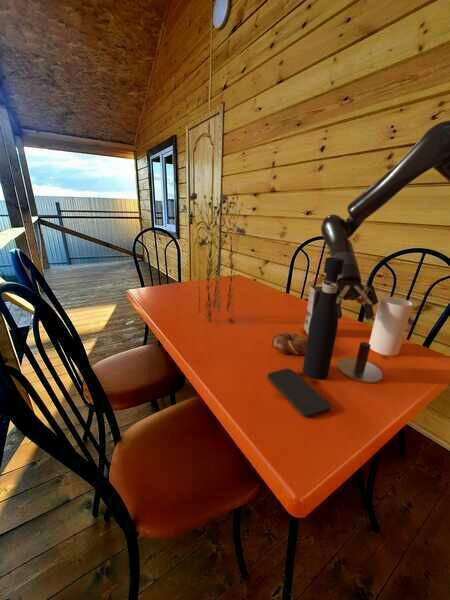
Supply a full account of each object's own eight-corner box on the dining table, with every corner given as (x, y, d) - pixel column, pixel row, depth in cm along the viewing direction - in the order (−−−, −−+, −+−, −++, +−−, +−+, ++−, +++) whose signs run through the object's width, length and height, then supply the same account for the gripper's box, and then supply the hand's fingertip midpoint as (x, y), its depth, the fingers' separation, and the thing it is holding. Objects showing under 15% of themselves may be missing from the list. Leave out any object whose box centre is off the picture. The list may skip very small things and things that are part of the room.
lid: (372, 361, 73) (378, 336, 70) (390, 386, 62) (398, 357, 60) (332, 357, 74) (337, 332, 71) (343, 380, 64) (350, 353, 61)
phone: (305, 416, 51) (265, 373, 64) (305, 419, 51) (265, 376, 64) (333, 406, 54) (289, 367, 67) (332, 409, 54) (289, 370, 67)
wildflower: (223, 304, 114) (227, 196, 99) (256, 322, 96) (266, 193, 81) (176, 313, 102) (173, 192, 87) (203, 336, 84) (204, 188, 69)
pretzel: (311, 343, 82) (313, 333, 81) (310, 360, 72) (312, 349, 71) (274, 336, 85) (275, 326, 84) (268, 352, 76) (269, 341, 75)
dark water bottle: (297, 370, 67) (314, 257, 58) (311, 362, 71) (329, 255, 61) (318, 383, 63) (340, 262, 53) (333, 374, 66) (356, 260, 56)
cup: (376, 355, 76) (390, 305, 71) (363, 341, 84) (374, 296, 79) (404, 356, 76) (419, 306, 71) (389, 343, 84) (401, 297, 78)
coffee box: (308, 336, 87) (315, 291, 81) (303, 327, 93) (309, 285, 87) (335, 337, 86) (344, 292, 81) (328, 329, 93) (336, 286, 87)
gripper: (326, 261, 75) (334, 312, 68) (374, 263, 75) (387, 314, 68) (317, 275, 82) (324, 322, 75) (361, 276, 82) (372, 323, 75)
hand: (354, 318), depth 72 cm, fingers open, 8 cm apart
